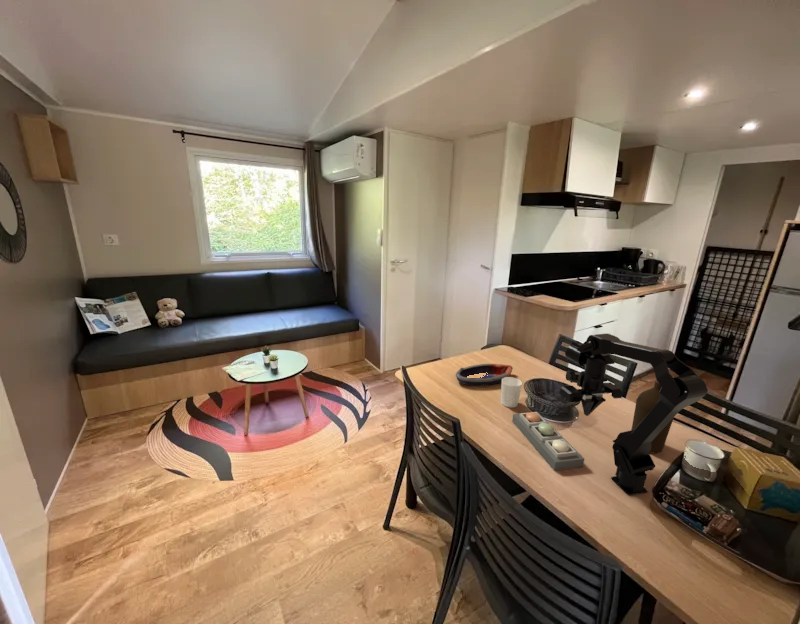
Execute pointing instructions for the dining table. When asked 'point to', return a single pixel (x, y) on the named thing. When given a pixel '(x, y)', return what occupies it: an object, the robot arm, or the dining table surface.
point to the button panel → (547, 444)
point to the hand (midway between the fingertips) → (586, 415)
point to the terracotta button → (532, 417)
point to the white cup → (510, 391)
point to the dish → (494, 375)
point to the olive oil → (643, 408)
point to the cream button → (560, 446)
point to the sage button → (546, 429)
